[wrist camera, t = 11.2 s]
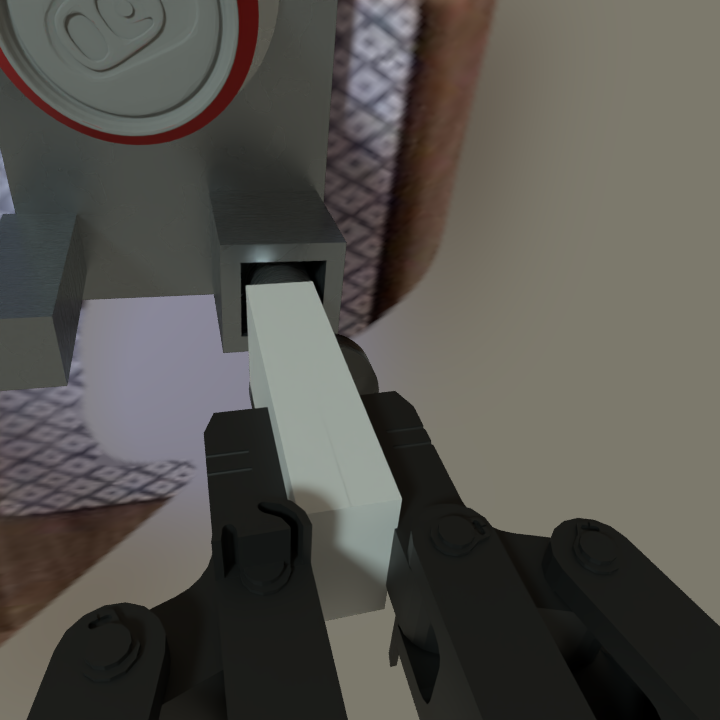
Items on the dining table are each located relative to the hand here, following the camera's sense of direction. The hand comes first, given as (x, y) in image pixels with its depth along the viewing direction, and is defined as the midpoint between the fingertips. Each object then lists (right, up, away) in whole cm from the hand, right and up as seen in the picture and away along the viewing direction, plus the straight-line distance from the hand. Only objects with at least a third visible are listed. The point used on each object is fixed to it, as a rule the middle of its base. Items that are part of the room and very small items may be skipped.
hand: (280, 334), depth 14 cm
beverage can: (-7, +14, +9) cm, 18 cm away
